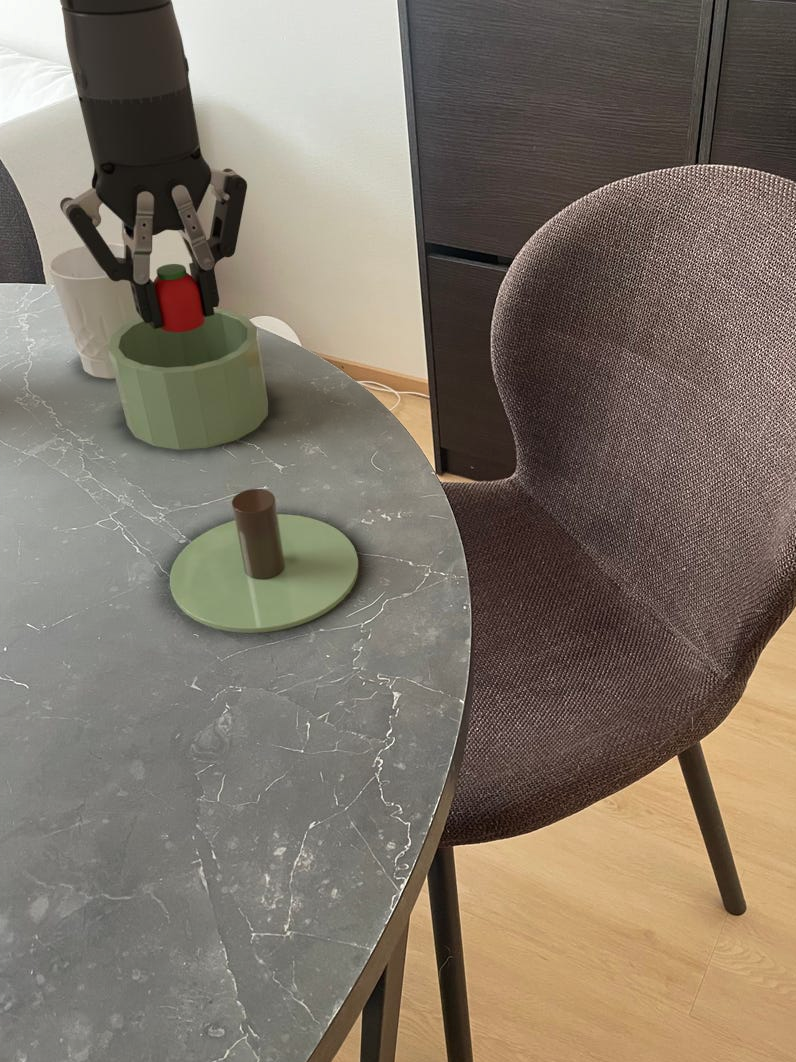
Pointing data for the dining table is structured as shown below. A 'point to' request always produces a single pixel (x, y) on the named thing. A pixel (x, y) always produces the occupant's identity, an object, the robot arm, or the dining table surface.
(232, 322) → the pot
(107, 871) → the dining table surface
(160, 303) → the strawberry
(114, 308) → the white cup
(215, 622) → the lid
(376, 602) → the dining table surface
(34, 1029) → the dining table surface
